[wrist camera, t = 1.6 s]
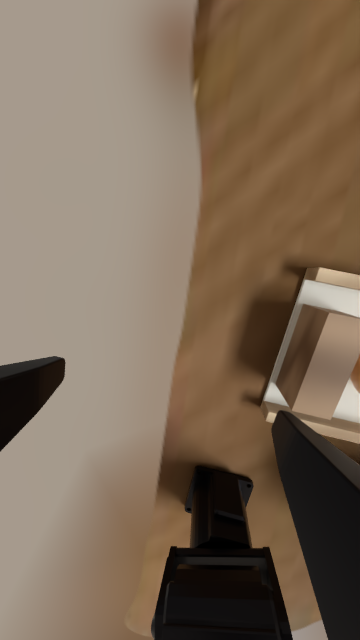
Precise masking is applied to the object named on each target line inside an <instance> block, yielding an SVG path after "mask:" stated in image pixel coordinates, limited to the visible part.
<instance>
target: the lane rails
mask: <svg viewBox="0 0 360 640" xmlns="http://www.w3.org/2000/svg"><path fill="white" fill-rule="evenodd" d="M304 279H305V280H310V281H315V282H320V283H325V284H330V285H335V286H340V287H345V288H349V289H354V290H359V291H360V275H355V274H350V273H345V272H340V271H335V270H330V269H325V268H320V267H317V268H307V271H306V274H305V277H304ZM260 408H261V410H262V413H263V415H264V418H265V420H266V421H268V422H272V423H274V420H275V417H276V415H277V412H278V411H279V410H283V411H288V412H291V413H292V414H293V415H295V416H296V417H297V418H299V419H300V420H301V421H302V422H304V423H305V424H306V425H308V426H309V427H310V428H312V429H313V430H314V431H316V432H317V433H318V434H321V435H325V436H330V437H334V438H338V439H342V440H346V441H350V442H354V443H358V444H360V423H356V422H351V421H347V420H343V419H339V418H335V417H332V418H331V420H328V419H324V418H320V417H316V416H312V415H307V414H303V413H299V412H295V411H292V410H291V409H290V407H288V406H284V405H280V404H276V403H271V402H267V401H264V400H263V401H262V404H261V407H260Z"/></svg>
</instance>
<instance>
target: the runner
mask: <svg viewBox="0 0 360 640" xmlns="http://www.w3.org/2000/svg"><path fill="white" fill-rule="evenodd" d="M303 304H307V305H312V306H317V307H322V308H327V309H331V310H336V311H340V312H343V313H347V314H350V315H353V316H356V317H360V291H359V290H354V289H349V288H345V287H340V286H335V285H330V284H325V283H320V282H315V281H310V280H305V279H304V280H303V282H302V285H301V288H300V291H299V294H298V297H297V300H296V303H295V306H294V309H293V312H292V315H291V318H290V321H289V324H288V327H287V330H286V333H285V336H284V339H283V342H282V345H281V348H280V351H279V354H278V356H277V359H276V362H275V365H274V368H273V371H272V374H271V377H270V380H269V383H268V386H267V389H266V392H265V395H264V398H263V400H264V401H267V402H271V403H276V404H280V405H284V406H288V404H287V402H286V401H285V399H284V398H283V396H282V394H281V393H280V391H279V389H278V388H277V386H276V385H275V383H276V380H277V378H278V375H279V372H280V369H281V366H282V363H283V360H284V357H285V355H286V352H287V349H288V346H289V343H290V340H291V337H292V334H293V331H294V329H295V326H296V323H297V320H298V317H299V314H300V311H301V308H302V306H303ZM288 407H289V406H288ZM332 417H335V418H339V419H343V420H347V421H351V422H356V423H360V394H359V392H358V391H357V390H356V389H355V387H354V385H353V383H352V381H351V378H349V380H348V382H347V384H346V387H345V389H344V391H343V393H342V396H341V398H340V400H339V403H338V405H337V407H336V409H335V412H334V414H333V416H332Z"/></svg>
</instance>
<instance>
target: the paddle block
mask: <svg viewBox="0 0 360 640" xmlns="http://www.w3.org/2000/svg"><path fill="white" fill-rule="evenodd" d="M359 355H360V317H356V316H353V315H350V314H347V313H343V312H340V311H336V310H331V309H327V308H322V307H317V306H312V305H307V304H303V306H302V308H301V311H300V314H299V317H298V320H297V323H296V326H295V329H294V331H293V334H292V337H291V340H290V343H289V346H288V349H287V352H286V355H285V357H284V360H283V363H282V366H281V369H280V372H279V375H278V378H277V380H276V383H275V385H276V386H277V388H278V389H279V391H280V393H281V394H282V396H283V398H284V399H285V401H286V402H287V404H288V406H289V407H290V409H291V410H292V411H295V412H299V413H303V414H307V415H312V416H316V417H320V418H324V419H328V420H331V418H332V416H333V414H334V412H335V409H336V407H337V405H338V403H339V400H340V398H341V396H342V393H343V391H344V389H345V387H346V384H347V382H348V380H349V378H350V375H351V373H352V371H353V368H354V366H355V364H356V362H357V359H358V357H359Z"/></svg>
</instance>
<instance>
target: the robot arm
mask: <svg viewBox="0 0 360 640" xmlns="http://www.w3.org/2000/svg"><path fill="white" fill-rule="evenodd" d="M64 375H65V359H64V358H61V357H57V356H53V357H47V358H41V359H36V360H30V361H25V362H19V363H13V364H8V365H2V366H0V451H1V450H2V449H3V448H4V447H5V446H6V445H7V444H8V443H9V442H10V441H11V440H12V439H13V438H14V436H16V435H17V434H18V433H19V431H20V430H21V429H22V428H23V427H24V426H25V425H26V424H27V423H28V422H29V421H30V420H31V419H32V418H33V417H34V416H35V415H36V414H37V412H38V411H39V410H40V409H41V408H42V407H43V405H44V404H45V403H46V402H47V400H48V399H49V398H50V396H51V395H52V394H53V393H54V391H55V390H56V389H57V387H58V386H59V385H60V384H61V383H62V381H63V379H64ZM272 438H273V443H274V448H275V453H276V459H277V464H278V469H279V473H280V477H281V481H282V484H283V487H284V491H285V494H286V498H287V501H288V504H289V508H290V511H291V515H292V518H293V521H294V525H295V528H296V532H297V535H298V538H299V542H300V545H301V549H302V552H303V556H304V559H305V562H306V566H307V569H308V573H309V576H310V579H311V583H312V586H313V590H314V593H315V596H316V600H317V603H318V607H319V610H320V613H321V617H322V620H323V624H324V627H325V630H326V634H327V637H328V640H360V465H359V464H358V463H356V462H355V461H354V460H352V459H351V458H350V457H348V456H347V455H346V454H344V453H343V452H342V451H340V450H339V449H338V448H337V447H335V446H334V445H333V444H331V443H330V442H329V441H327V440H326V439H325V438H323V437H322V436H321V435H319V434H318V433H317V432H316V431H314V430H313V429H312V428H310V427H309V426H308V425H306V424H305V423H304V422H302V421H301V420H300V419H299V418H297V417H296V416H295V415H293V414H292V413H291V412H288V411H283V410H279V411H278V412H277V415H276V417H275V420H274V423H273V425H272ZM252 489H253V482H252V480H251V479H248V478H244V477H240V476H236V475H232V474H229V473H225V472H221V471H217V470H213V469H209V468H205V467H202V466H197V467H195V470H194V474H193V477H192V481H191V485H190V488H189V492H188V496H187V499H186V503H185V511H186V512H188V513H192V515H191V535H190V548H177V546H171V548H170V552H169V557H167V561H166V565H165V570H164V574H163V579H162V583H161V588H160V592H159V597H158V601H157V606H156V610H155V614H154V617H153V620H152V625H151V633H152V636H153V638H154V640H293V638H292V634H291V629H290V625H289V620H288V616H287V612H286V608H285V604H284V601H283V597H282V593H281V589H280V586H279V582H278V578H277V574H276V571H275V567H274V563H273V559H272V556H271V552H270V548H269V547H263V548H252V542H251V537H250V531H249V525H248V519H247V514H246V506H247V503H248V500H249V497H250V495H251V492H252Z"/></svg>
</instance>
